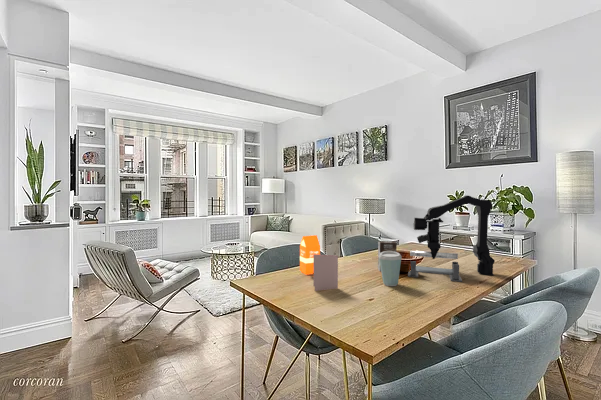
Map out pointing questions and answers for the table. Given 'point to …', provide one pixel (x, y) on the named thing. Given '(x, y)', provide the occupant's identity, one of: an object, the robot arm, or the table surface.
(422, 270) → the grey plate
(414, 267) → the dark grey notched cradle
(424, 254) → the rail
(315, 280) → the greeting card
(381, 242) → the coffee box
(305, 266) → the orange juice
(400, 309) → the table surface
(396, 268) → the disposable coffee cup
